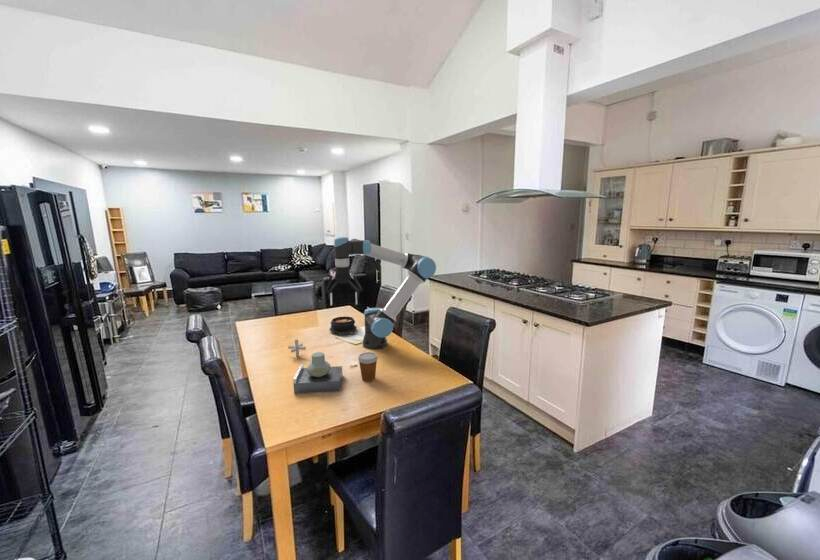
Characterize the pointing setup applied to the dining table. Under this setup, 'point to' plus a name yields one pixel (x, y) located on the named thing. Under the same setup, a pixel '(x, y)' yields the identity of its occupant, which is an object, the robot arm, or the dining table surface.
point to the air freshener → (318, 365)
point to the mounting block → (317, 381)
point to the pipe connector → (296, 347)
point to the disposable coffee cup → (368, 366)
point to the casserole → (343, 325)
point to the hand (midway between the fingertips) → (344, 304)
